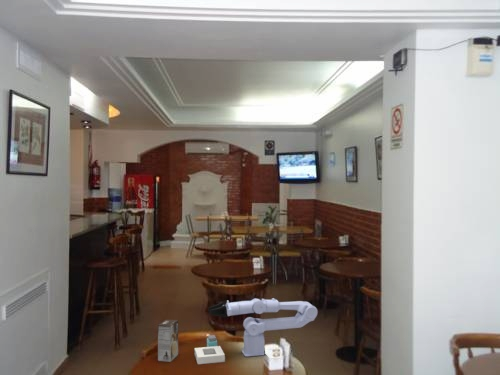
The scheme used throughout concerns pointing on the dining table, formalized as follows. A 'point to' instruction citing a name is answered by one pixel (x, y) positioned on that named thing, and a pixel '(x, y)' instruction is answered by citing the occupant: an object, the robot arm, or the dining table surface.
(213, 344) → the plug
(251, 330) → the robot arm
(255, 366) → the dining table surface
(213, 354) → the block
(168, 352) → the coffee box
